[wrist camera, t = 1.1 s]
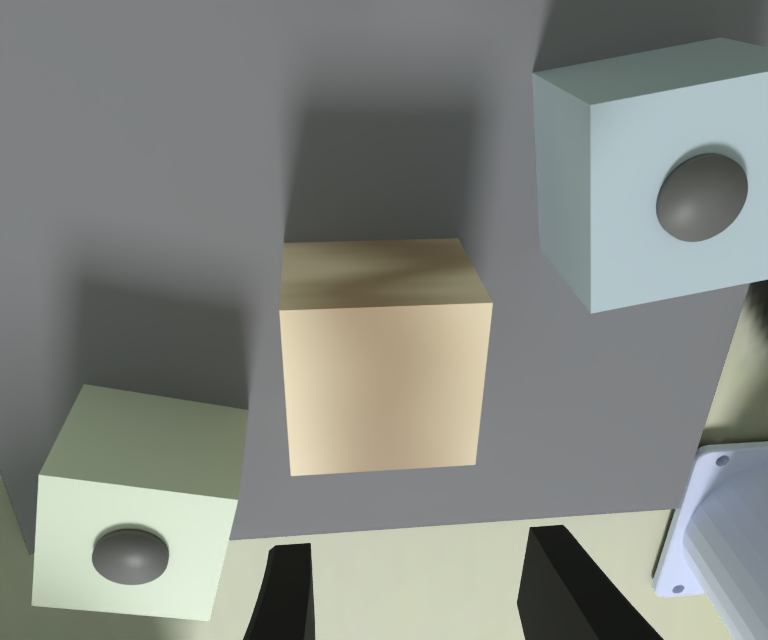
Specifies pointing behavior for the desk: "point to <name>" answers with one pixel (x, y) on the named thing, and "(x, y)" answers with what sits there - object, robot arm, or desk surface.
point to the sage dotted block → (138, 505)
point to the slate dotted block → (654, 172)
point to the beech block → (382, 354)
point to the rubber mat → (329, 237)
